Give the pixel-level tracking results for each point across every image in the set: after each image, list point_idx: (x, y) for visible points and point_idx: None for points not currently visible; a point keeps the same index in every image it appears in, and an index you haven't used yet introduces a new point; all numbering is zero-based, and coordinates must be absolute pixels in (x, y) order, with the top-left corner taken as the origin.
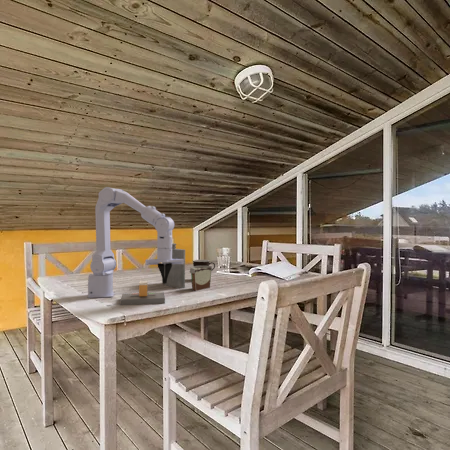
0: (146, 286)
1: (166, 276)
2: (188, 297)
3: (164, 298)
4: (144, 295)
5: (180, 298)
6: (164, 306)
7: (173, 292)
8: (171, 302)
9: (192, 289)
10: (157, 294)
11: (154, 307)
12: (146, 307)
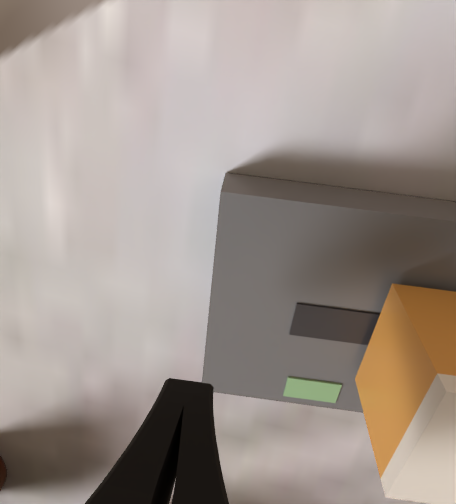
0: (441, 358)
1: (140, 463)
2: (15, 308)
3: (225, 190)
4: (422, 292)
5: (78, 298)
6: (249, 42)
7: None
8: (160, 191)
9: (2, 466)
10: (267, 344)
11: (365, 26)
12: (448, 53)
